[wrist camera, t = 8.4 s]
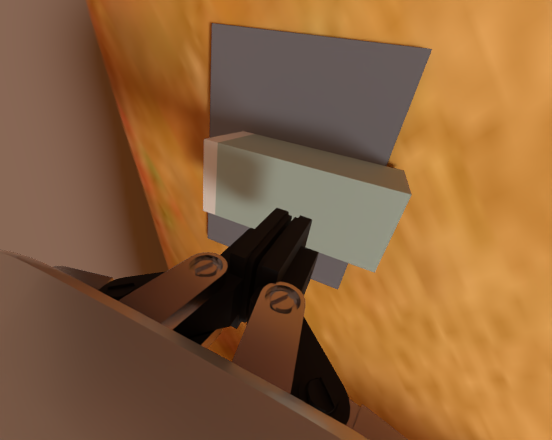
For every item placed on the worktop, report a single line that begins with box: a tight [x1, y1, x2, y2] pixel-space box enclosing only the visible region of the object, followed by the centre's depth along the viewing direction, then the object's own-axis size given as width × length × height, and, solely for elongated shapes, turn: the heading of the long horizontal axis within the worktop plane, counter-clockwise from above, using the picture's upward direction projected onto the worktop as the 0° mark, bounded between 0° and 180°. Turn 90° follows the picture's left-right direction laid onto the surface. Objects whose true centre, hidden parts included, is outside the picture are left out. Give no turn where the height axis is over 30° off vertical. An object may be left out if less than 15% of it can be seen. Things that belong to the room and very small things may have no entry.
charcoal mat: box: [208, 23, 432, 289], centre depth 19 cm, size 14×18×1 cm
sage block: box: [203, 131, 411, 272], centre depth 16 cm, size 5×5×12 cm
